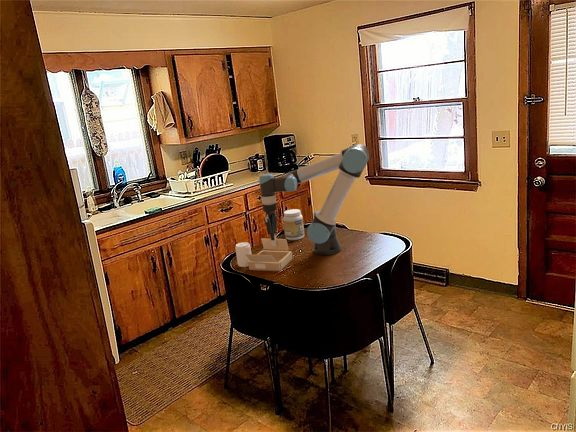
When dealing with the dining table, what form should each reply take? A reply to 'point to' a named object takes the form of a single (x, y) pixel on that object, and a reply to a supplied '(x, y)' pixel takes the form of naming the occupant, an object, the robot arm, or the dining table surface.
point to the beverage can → (243, 253)
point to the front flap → (260, 257)
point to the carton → (281, 262)
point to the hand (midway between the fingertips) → (274, 245)
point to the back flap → (280, 246)
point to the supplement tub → (293, 224)
